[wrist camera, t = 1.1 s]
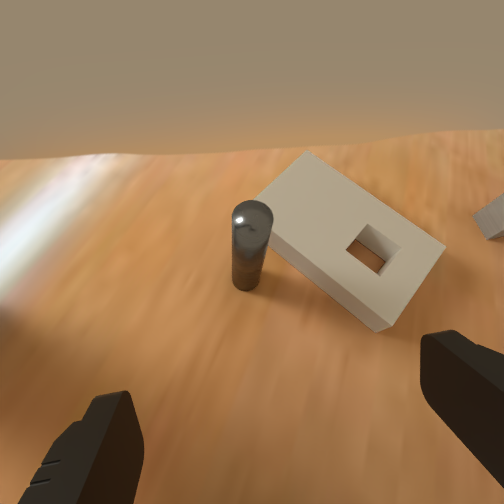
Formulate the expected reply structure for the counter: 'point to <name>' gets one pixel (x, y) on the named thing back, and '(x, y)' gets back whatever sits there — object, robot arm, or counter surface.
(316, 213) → the peg block
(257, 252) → the graphite peg
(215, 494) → the counter surface
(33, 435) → the counter surface
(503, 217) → the grey printed package
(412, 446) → the counter surface
